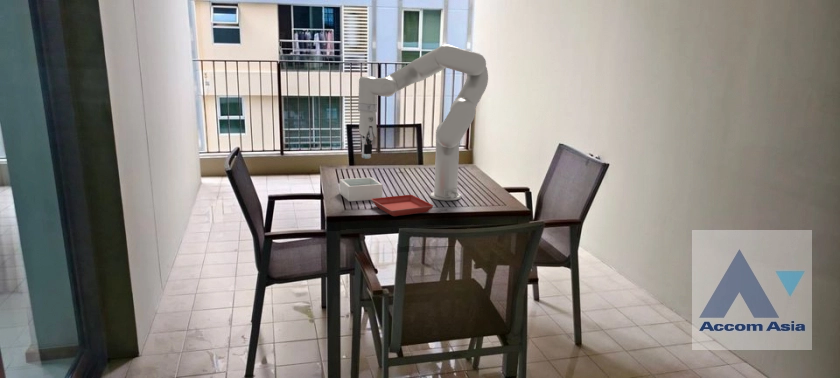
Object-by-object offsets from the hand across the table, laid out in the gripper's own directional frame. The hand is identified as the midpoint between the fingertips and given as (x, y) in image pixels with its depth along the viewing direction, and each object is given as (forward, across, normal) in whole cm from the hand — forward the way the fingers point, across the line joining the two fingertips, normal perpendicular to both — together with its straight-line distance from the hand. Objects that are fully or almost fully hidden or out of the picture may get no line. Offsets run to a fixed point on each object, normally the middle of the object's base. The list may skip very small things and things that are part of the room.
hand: (366, 152), depth 233 cm
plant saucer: (+18, -25, -7) cm, 32 cm away
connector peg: (+2, 0, 0) cm, 2 cm away
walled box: (+18, -1, +2) cm, 18 cm away
